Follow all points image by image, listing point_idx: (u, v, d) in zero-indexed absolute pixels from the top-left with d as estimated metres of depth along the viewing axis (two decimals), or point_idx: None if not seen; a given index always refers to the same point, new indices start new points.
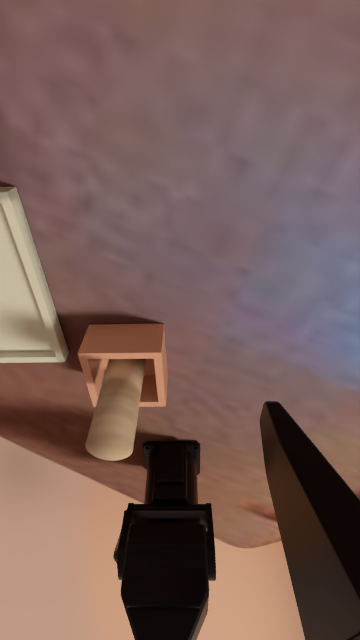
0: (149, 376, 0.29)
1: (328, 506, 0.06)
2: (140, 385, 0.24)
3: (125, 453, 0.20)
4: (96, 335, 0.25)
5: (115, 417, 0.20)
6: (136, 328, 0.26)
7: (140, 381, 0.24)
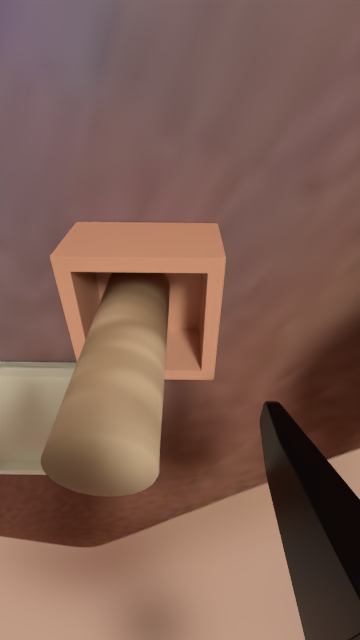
0: None
1: (328, 506, 0.06)
2: (115, 313, 0.11)
3: (121, 448, 0.08)
4: None
5: None
6: None
7: (113, 309, 0.11)
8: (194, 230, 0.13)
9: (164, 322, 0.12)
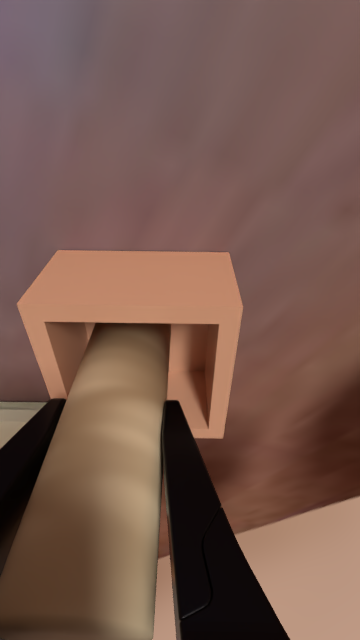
0: None
1: (183, 503, 0.06)
2: (100, 376, 0.09)
3: (97, 622, 0.05)
4: None
5: None
6: None
7: (98, 369, 0.09)
8: (201, 263, 0.11)
9: (163, 381, 0.10)
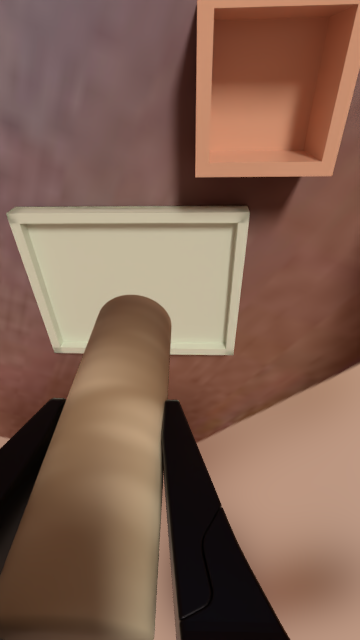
0: (323, 47, 0.14)
1: (183, 503, 0.06)
2: (100, 375, 0.09)
3: (97, 622, 0.05)
4: None
5: (13, 544, 0.06)
6: None
7: (98, 368, 0.09)
8: None
9: (164, 379, 0.10)
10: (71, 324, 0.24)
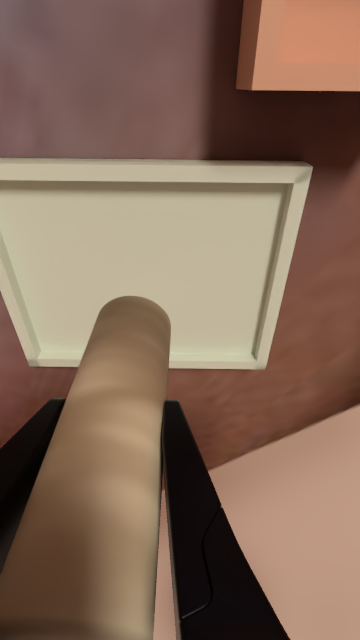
0: None
1: (183, 503, 0.06)
2: (100, 376, 0.09)
3: (95, 625, 0.05)
4: (244, 52, 0.10)
5: (12, 546, 0.06)
6: None
7: (98, 369, 0.09)
8: None
9: (163, 381, 0.10)
10: (51, 328, 0.18)
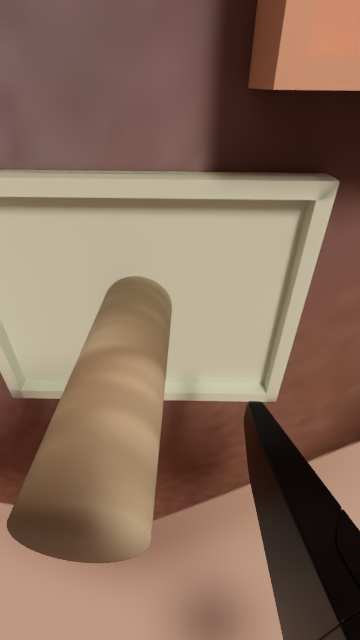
0: None
1: (303, 505, 0.06)
2: (107, 337, 0.10)
3: (103, 516, 0.06)
4: (261, 42, 0.08)
5: None
6: None
7: (106, 332, 0.10)
8: None
9: (164, 347, 0.11)
10: (36, 356, 0.16)
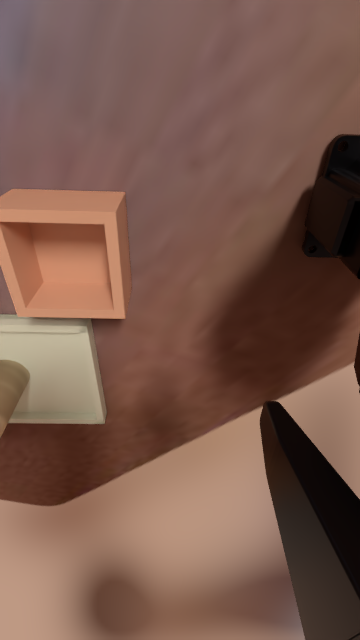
0: None
1: (328, 506, 0.06)
2: None
3: None
4: None
5: None
6: None
7: None
8: (103, 196, 0.17)
9: (8, 403, 0.22)
10: None
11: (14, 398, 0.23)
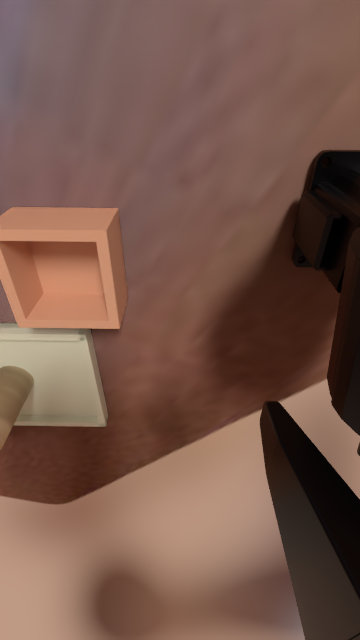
0: None
1: (328, 506, 0.06)
2: None
3: None
4: None
5: None
6: None
7: None
8: (97, 213, 0.18)
9: (12, 408, 0.24)
10: None
11: (18, 403, 0.24)
